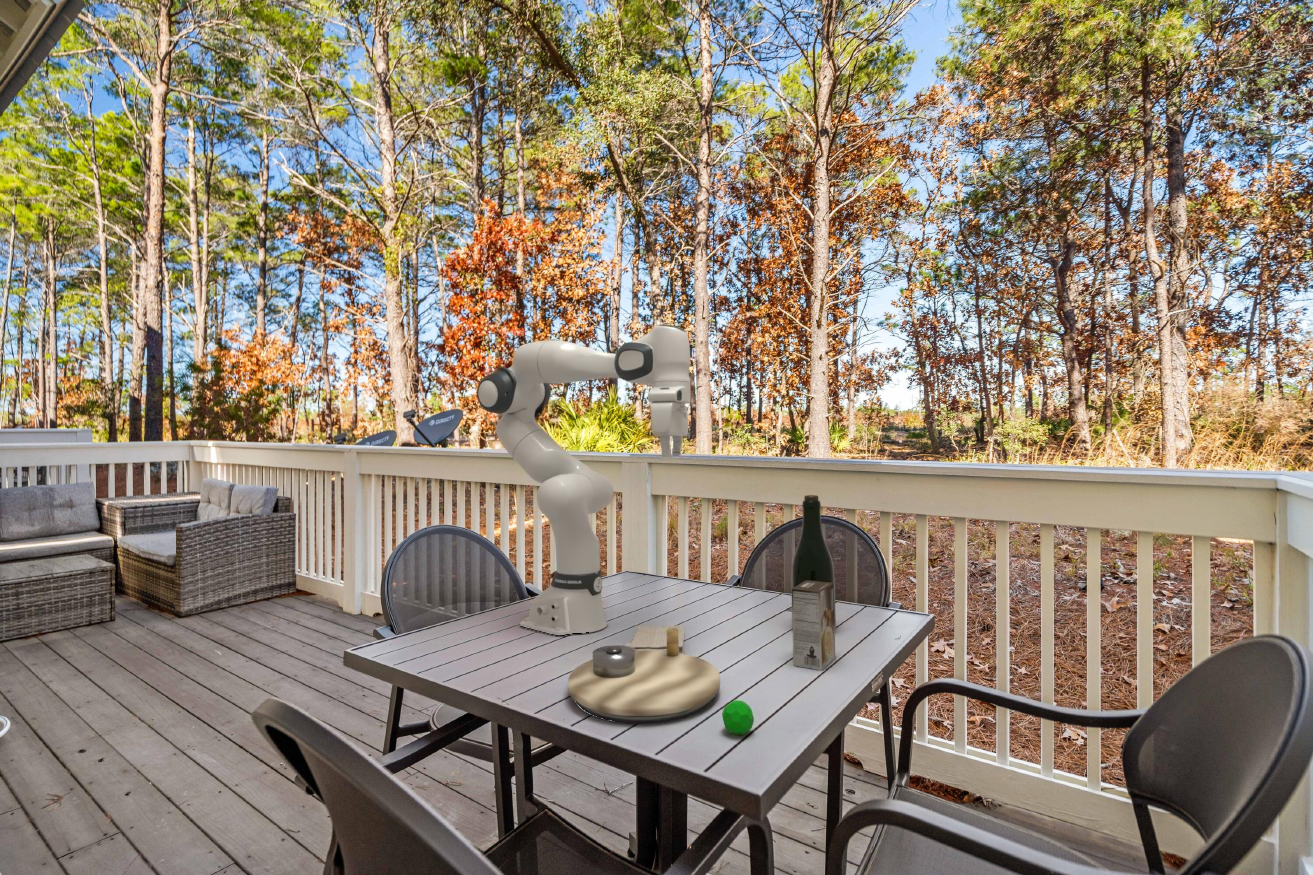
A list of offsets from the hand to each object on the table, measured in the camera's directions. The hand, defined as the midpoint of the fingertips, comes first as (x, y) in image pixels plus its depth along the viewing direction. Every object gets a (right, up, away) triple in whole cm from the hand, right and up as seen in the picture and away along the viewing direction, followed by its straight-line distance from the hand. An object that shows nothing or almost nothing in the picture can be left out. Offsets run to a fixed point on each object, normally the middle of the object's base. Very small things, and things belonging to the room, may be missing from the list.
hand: (671, 456), depth 143 cm
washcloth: (-3, -44, +1) cm, 44 cm away
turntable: (-6, -41, -27) cm, 49 cm away
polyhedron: (+10, -43, -43) cm, 62 cm away
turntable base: (-6, -43, -27) cm, 51 cm away
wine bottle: (+35, -43, +10) cm, 56 cm away
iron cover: (-12, -40, -24) cm, 48 cm away
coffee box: (+30, -43, -12) cm, 53 cm away
